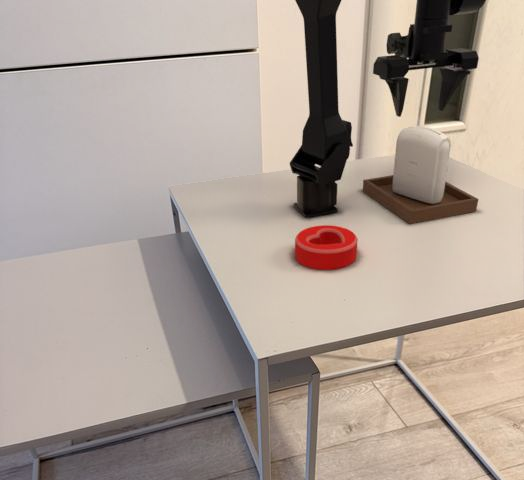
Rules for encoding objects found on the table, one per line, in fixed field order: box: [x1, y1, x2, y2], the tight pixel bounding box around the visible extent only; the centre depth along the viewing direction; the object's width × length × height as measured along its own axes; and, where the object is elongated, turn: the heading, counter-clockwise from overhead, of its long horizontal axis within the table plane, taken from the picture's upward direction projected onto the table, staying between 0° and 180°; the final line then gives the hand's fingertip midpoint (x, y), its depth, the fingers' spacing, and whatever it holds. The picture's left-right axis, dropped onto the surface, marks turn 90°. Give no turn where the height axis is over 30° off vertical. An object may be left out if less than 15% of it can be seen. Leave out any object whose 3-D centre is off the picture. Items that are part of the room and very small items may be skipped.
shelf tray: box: [362, 174, 479, 225], centre depth 101 cm, size 14×18×2 cm
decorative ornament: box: [294, 224, 359, 271], centre depth 84 cm, size 10×10×3 cm
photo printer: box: [392, 125, 452, 204], centre depth 97 cm, size 10×4×12 cm, turn 37°
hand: (419, 113), depth 103 cm, fingers open, 9 cm apart
